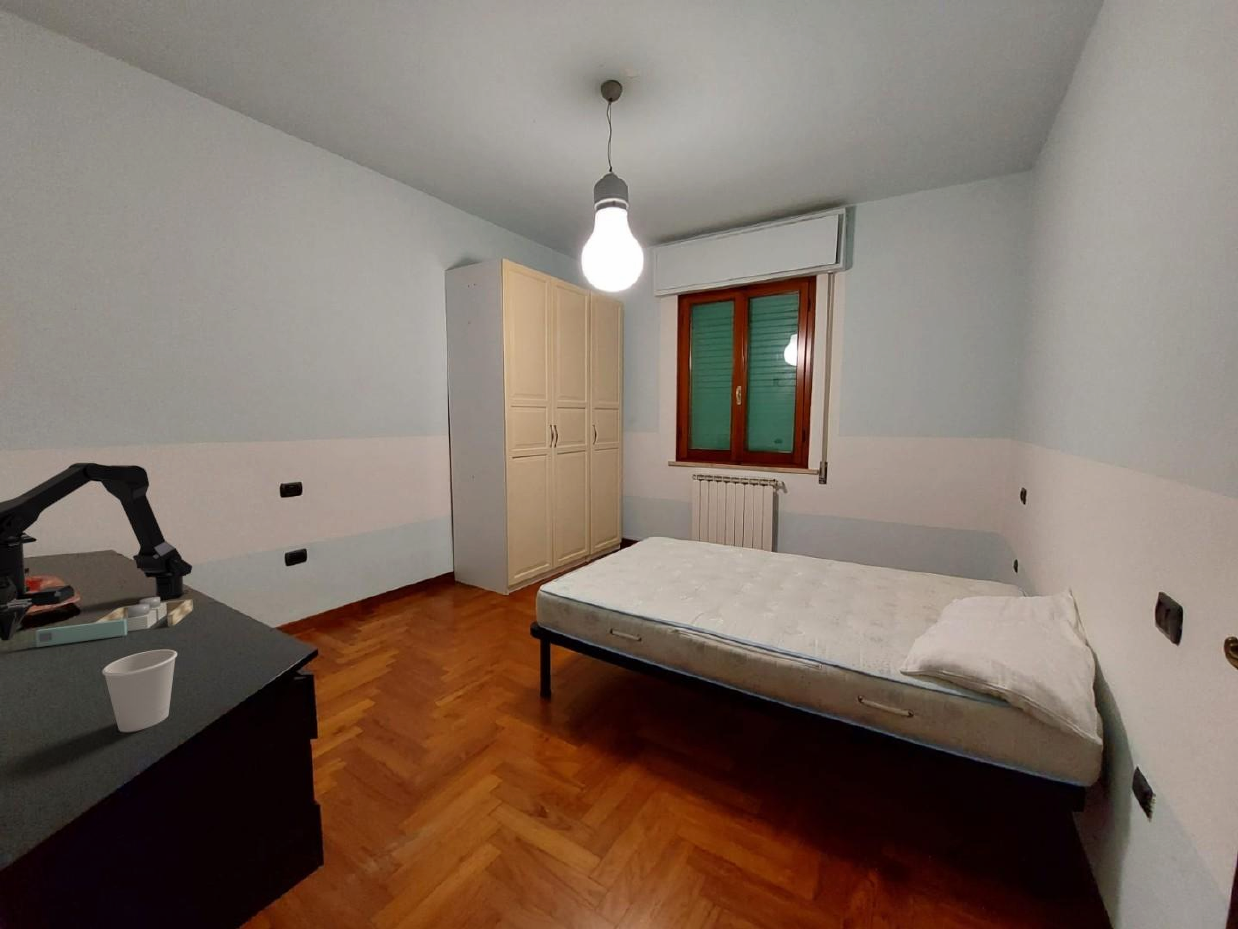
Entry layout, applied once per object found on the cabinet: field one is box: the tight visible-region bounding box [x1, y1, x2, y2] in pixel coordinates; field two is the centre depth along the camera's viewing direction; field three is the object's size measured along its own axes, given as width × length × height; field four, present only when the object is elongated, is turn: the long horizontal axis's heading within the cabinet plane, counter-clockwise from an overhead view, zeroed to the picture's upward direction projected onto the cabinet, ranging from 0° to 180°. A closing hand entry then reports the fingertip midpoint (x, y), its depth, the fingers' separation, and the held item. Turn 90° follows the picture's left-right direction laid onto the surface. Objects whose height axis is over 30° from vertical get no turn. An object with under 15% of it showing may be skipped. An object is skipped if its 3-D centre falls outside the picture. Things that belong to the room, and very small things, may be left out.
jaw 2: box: [139, 596, 168, 622], centre depth 116 cm, size 4×4×5 cm
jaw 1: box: [121, 603, 157, 632], centre depth 111 cm, size 4×4×5 cm
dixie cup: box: [101, 648, 178, 733], centre depth 74 cm, size 8×8×10 cm
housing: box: [94, 598, 194, 632], centre depth 114 cm, size 12×14×3 cm
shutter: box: [35, 619, 128, 648], centre depth 103 cm, size 1×14×4 cm, turn 115°
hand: (7, 640), depth 98 cm, fingers closed
